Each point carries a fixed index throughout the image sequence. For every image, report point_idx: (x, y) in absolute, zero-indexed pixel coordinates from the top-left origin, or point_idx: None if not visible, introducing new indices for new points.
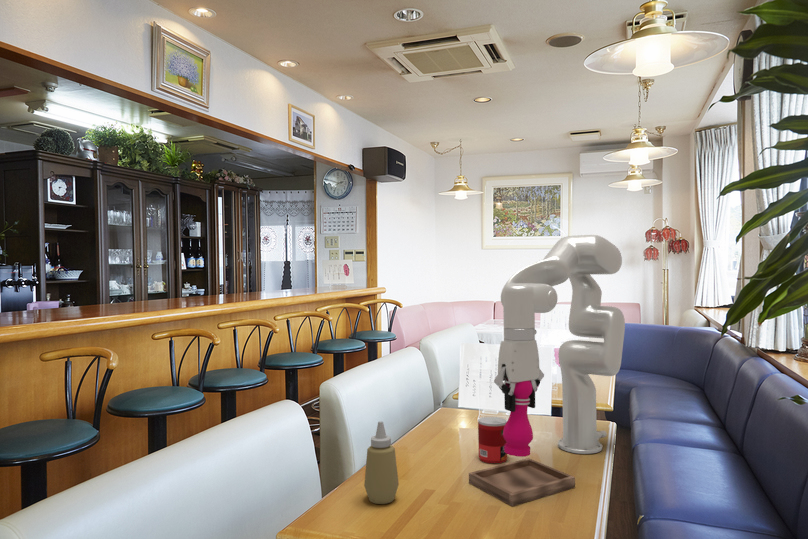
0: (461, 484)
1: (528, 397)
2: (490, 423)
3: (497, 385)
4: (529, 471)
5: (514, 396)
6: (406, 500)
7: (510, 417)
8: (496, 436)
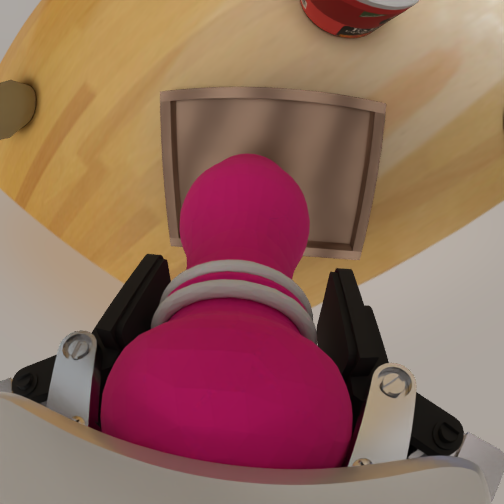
0: (152, 90)
1: (330, 349)
2: None
3: (5, 380)
4: (338, 140)
5: None
6: (45, 121)
7: (187, 253)
8: (338, 8)
